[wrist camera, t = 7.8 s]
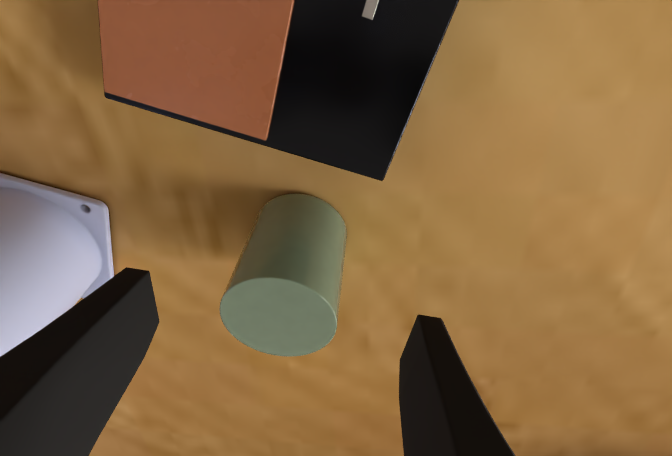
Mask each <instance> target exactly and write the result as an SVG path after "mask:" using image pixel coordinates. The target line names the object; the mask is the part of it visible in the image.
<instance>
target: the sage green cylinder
mask: <svg viewBox="0 0 672 456" xmlns="http://www.w3.org/2000/svg"><path fill="white" fill-rule="evenodd" d="M346 239H347V231H346V226H345V223H344V221H343V219H342V217H341V216H340V214H339V213H338V212H337V211H336V210H335V209H334V208H333V207H332V206H331V205H329V204H328V203H326V202H325V201H323V200H321V199H319V198H316V197H314V196H310V195H306V194H286V195H282V196H279V197H276V198H274V199H272V200H270V201H269V202H268V203H266V204H265V205H264V206H263V207H262V209H261V210H260V211H259V213H258V215H257V218H256V220H255V222H254V225H253V227H252V229H251V232H250V234H249V236H248V239H247V241H246V243H245V246H244V248H243V250H242V252H241V255H240V257H239V259H238V262H237V264H236V266H235V269H234V271H233V273H232V276H231V278H230V280H229V283H228V285H227V287H226V290H225V292H224V294H223V297H222V299H221V302H220V316H221V319H222V321H223V323H224V325H225V327H226V328H227V330H228V331H229V332H230V333H231V334H232V335H233V336H234V337H235V338H236V339H238V340H239V341H240V342H242V343H243V344H245V345H247V346H249V347H251V348H253V349H255V350H258V351H260V352H264V353H267V354H272V355H277V356H301V355H306V354H310V353H313V352H316V351H318V350H320V349H321V348H323V347H325V346H326V345H327V344H328V343H329V342H330V341H331V340H332V338H333V337H334V335H335V332H336V329H337V321H338V312H339V303H340V294H341V285H342V276H343V267H344V257H345V248H346Z"/></svg>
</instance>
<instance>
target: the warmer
mask: <svg viewBox="0 0 672 456" xmlns="http://www.w3.org/2000/svg"><path fill="white" fill-rule="evenodd" d="M458 2H459V0H295V1H294V6H293V11H292V16H291V21H290V26H289V31H288V36H287V42H286V47H285V52H284V57H283V62H282V67H281V72H280V77H279V82H278V87H277V93H276V98H275V103H274V108H273V113H272V118H271V123H270V128H269V133H268V138H267V140H262V139H259V138H255V137H252V136H249V135H246V134H242V133H239V132H236V131H232V130H229V129H226V128H222V127H219V126H216V125H212V124H209V123H206V122H203V121H199V120H196V119H193V118H189V117H186V116H183V115H179V114H176V113H173V112H170V111H166V110H163V109H160V108H156V107H153V106H150V105H146V104H143V103H140V102H136V101H133V100H130V99H127V98H123V97H120V96H117V95H113V94H110V93H107V92H105V91H104V94H105V97H106V98H108V99H112V100H115V101H118V102H122V103H125V104H128V105H132V106H135V107H138V108H141V109H145V110H148V111H151V112H155V113H158V114H161V115H165V116H168V117H171V118H175V119H178V120H181V121H185V122H188V123H191V124H195V125H198V126H201V127H205V128H208V129H211V130H214V131H218V132H221V133H224V134H228V135H231V136H234V137H238V138H241V139H244V140H248V141H251V142H254V143H258V144H261V145H264V146H268V147H271V148H274V149H278V150H281V151H284V152H288V153H291V154H294V155H297V156H301V157H304V158H307V159H311V160H314V161H317V162H321V163H324V164H327V165H331V166H334V167H337V168H341V169H344V170H347V171H351V172H354V173H357V174H361V175H364V176H367V177H371V178H374V179H377V180H380V181H383V180H384V178H385V175H386V173H387V170H388V168H389V166H390V163H391V161H392V159H393V156H394V154H395V151H396V149H397V147H398V144H399V142H400V140H401V137H402V135H403V132H404V130H405V128H406V125H407V123H408V121H409V118H410V116H411V113H412V111H413V109H414V106H415V104H416V102H417V99H418V97H419V94H420V92H421V90H422V87H423V85H424V83H425V80H426V78H427V75H428V73H429V71H430V68H431V66H432V64H433V61H434V59H435V56H436V54H437V52H438V49H439V47H440V45H441V42H442V40H443V37H444V35H445V33H446V30H447V28H448V26H449V23H450V21H451V18H452V16H453V14H454V11H455V9H456V7H457V4H458ZM98 11H99V10H98ZM99 25H100V24H99ZM100 39H101V37H100ZM101 53H102V51H101ZM102 66H103V65H102ZM103 80H104V79H103Z"/></svg>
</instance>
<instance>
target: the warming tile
mask: <svg viewBox="0 0 672 456" xmlns="http://www.w3.org/2000/svg"><path fill="white" fill-rule="evenodd" d="M294 1H295V0H98V10H99V24H100V37H101V51H102V65H103V79H104V91H105V92H107V93H110V94H113V95H117V96H120V97H123V98H127V99H130V100H133V101H136V102H140V103H143V104H146V105H150V106H153V107H156V108H160V109H163V110H166V111H170V112H173V113H176V114H179V115H183V116H186V117H189V118H193V119H196V120H199V121H203V122H206V123H209V124H212V125H216V126H219V127H222V128H226V129H229V130H232V131H236V132H239V133H242V134H246V135H249V136H252V137H255V138H259V139H262V140H267V138H268V133H269V128H270V123H271V118H272V113H273V108H274V103H275V98H276V93H277V87H278V82H279V77H280V72H281V67H282V62H283V57H284V52H285V47H286V42H287V36H288V31H289V26H290V21H291V16H292V11H293V6H294Z"/></svg>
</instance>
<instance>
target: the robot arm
mask: <svg viewBox="0 0 672 456" xmlns="http://www.w3.org/2000/svg"><path fill="white" fill-rule="evenodd" d="M86 205H87V206H88V207H89V208H88V207H87V206H86ZM80 297H81V298H84V299H83V300H81V301H80V302H79V303H77V304H76V302H77V301H78V300H79V299H80ZM75 304H76V305H75ZM74 305H75V306H74ZM158 324H159V317H158V312H157V307H156V302H155V297H154V292H153V287H152V282H151V277H150V272H149V271H145V270H139V269H133V268H127V267H126V268H125V269H124V270H122V271H121V272H119V273H118V274H117V275H115V276H114V271H113V259H112V247H111V234H110V222H109V210H108V207H107V206H106V204H105V203H103V202H102V201H100V200H97V199H93V198H89V197H86V196H82V195H79V194H75V193H71V192H68V191H64V190H60V189H57V188H53V187H50V186H46V185H42V184H39V183H35V182H31V181H28V180H24V179H21V178H17V177H13V176H10V175H6V174H2V173H0V456H89V454H90V452H91V450H92V448H93V446H94V444H95V442H96V441H97V439H98V437H99V435H100V433H101V432H102V430H103V428H104V427H105V425H106V423H107V421H108V420H109V418H110V416H111V414H112V413H113V411H114V409H115V407H116V406H117V404H118V402H119V401H120V399H121V397H122V395H123V394H124V392H125V390H126V389H127V387H128V385H129V383H130V382H131V380H132V378H133V376H134V375H135V373H136V371H137V369H138V367H139V366H140V364H141V362H142V360H143V359H144V357H145V354H146V352H147V350H148V348H149V345H150V343H151V341H152V338H153V336H154V333H155V331H156V329H157V326H158ZM399 403H400V415H401V426H402V437H403V448H404V456H515V454H514V453H513V451H512V450H511V448H510V447H509V445H508V443H507V442H506V440H505V439H504V437H503V435H502V434H501V432H500V430H499V429H498V427H497V425H496V424H495V422H494V420H493V419H492V417H491V415H490V413H489V412H488V410H487V408H486V406H485V405H484V403H483V401H482V399H481V397H480V395H479V394H478V392H477V390H476V388H475V386H474V384H473V382H472V381H471V379H470V377H469V375H468V373H467V371H466V369H465V367H464V365H463V363H462V361H461V359H460V357H459V355H458V353H457V351H456V349H455V346H454V344H453V342H452V340H451V338H450V336H449V334H448V331H447V329H446V327H445V325H444V322H443V321H442V319H441V318H437V317H430V316H424V315H418V316H417V318H416V321H415V323H414V326H413V328H412V331H411V333H410V336H409V338H408V341H407V343H406V346H405V348H404V351H403V353H402V356H401V358H400V374H399Z"/></svg>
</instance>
